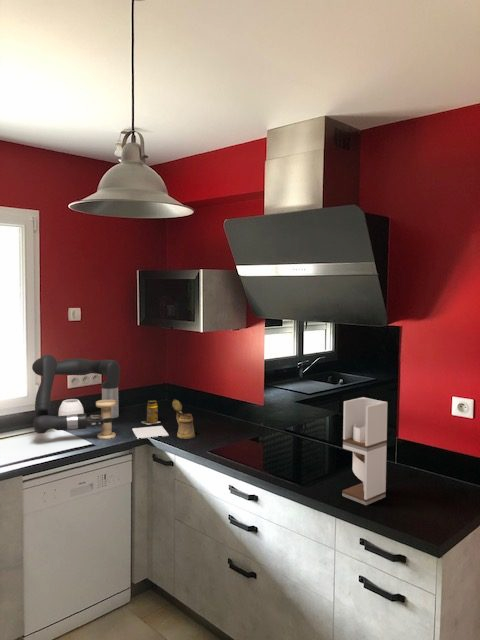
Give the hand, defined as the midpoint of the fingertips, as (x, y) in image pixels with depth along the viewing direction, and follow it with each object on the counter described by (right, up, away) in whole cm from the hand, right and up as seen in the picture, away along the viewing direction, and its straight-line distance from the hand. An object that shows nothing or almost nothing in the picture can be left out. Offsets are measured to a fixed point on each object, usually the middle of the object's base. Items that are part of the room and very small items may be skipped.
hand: (111, 418), depth 265 cm
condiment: (+15, -7, +27) cm, 32 cm away
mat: (+18, -9, +7) cm, 21 cm away
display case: (+110, -15, -74) cm, 134 cm away
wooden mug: (+36, -9, +2) cm, 37 cm away
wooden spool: (-2, -9, 0) cm, 9 cm away
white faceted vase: (-27, -8, +22) cm, 36 cm away
